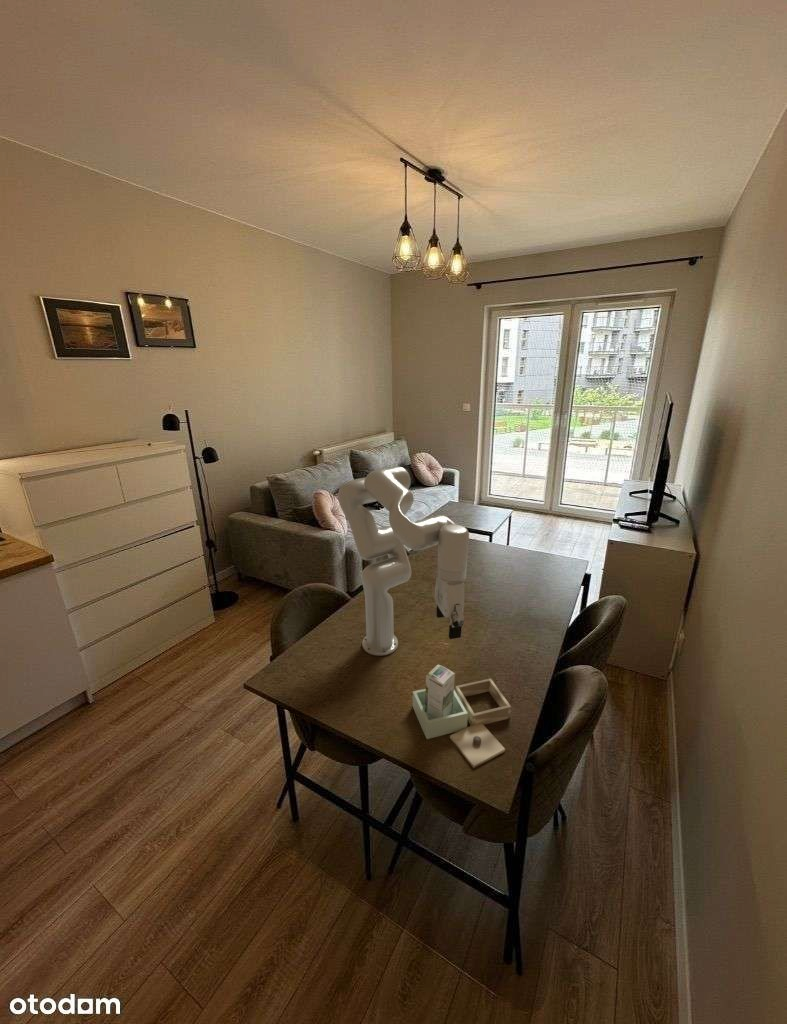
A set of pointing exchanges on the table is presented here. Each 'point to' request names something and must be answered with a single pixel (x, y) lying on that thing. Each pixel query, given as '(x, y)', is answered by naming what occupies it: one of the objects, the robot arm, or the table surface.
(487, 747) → the lid
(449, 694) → the syrup box
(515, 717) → the table surface
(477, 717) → the frame
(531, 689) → the table surface
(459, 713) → the bin
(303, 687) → the table surface
